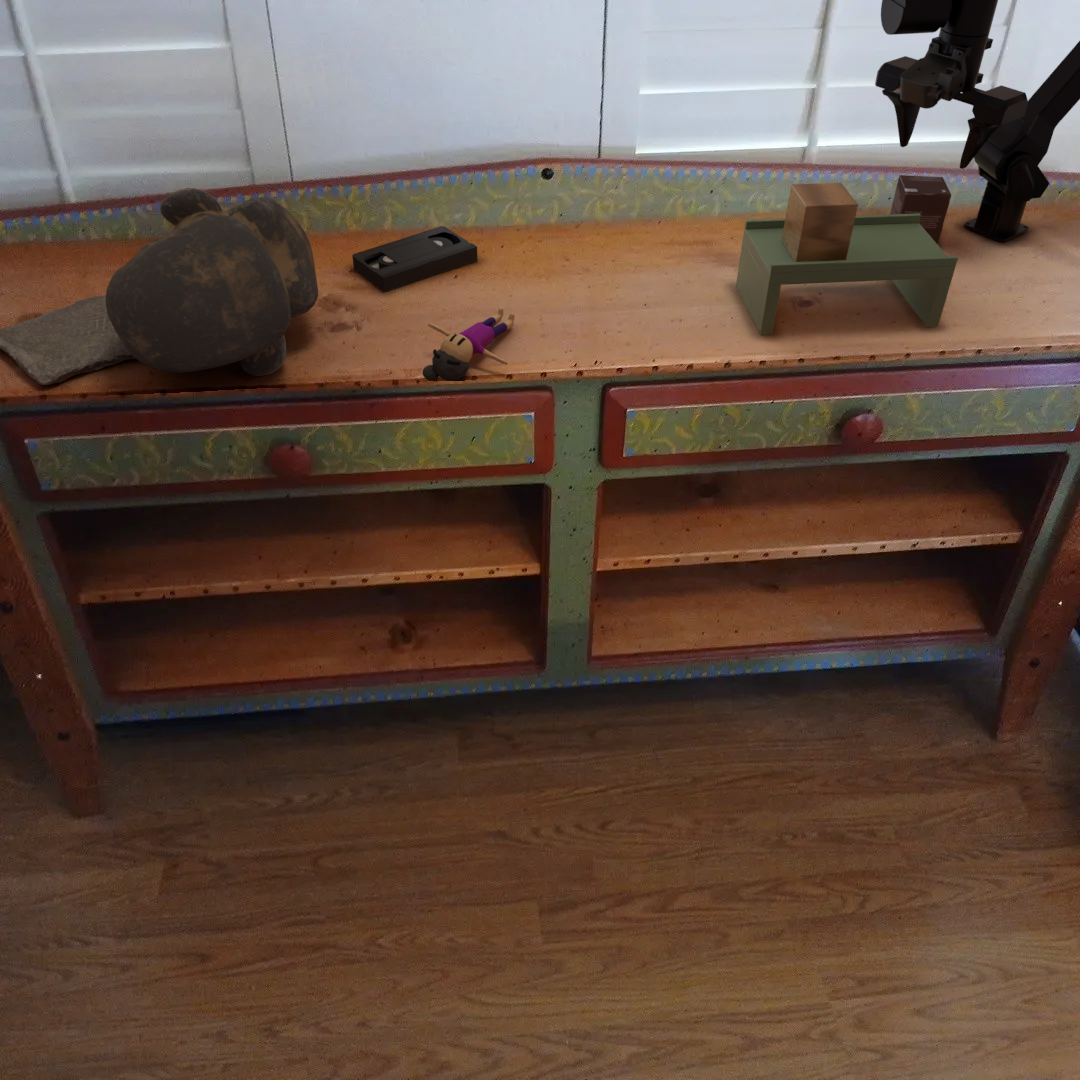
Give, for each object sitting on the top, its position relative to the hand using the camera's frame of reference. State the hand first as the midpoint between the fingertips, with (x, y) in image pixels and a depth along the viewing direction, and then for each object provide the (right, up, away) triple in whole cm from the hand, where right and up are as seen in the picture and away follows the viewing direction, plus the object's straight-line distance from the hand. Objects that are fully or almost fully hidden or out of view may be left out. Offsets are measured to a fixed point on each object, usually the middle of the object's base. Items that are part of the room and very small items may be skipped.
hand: (932, 156), depth 140 cm
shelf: (-15, -21, -8) cm, 27 cm away
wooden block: (-19, -16, -14) cm, 29 cm away
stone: (-99, -23, -14) cm, 103 cm away
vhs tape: (-68, -14, -1) cm, 69 cm away
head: (-76, -16, -19) cm, 80 cm away
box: (0, -8, +7) cm, 11 cm away
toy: (-56, -25, -12) cm, 62 cm away
